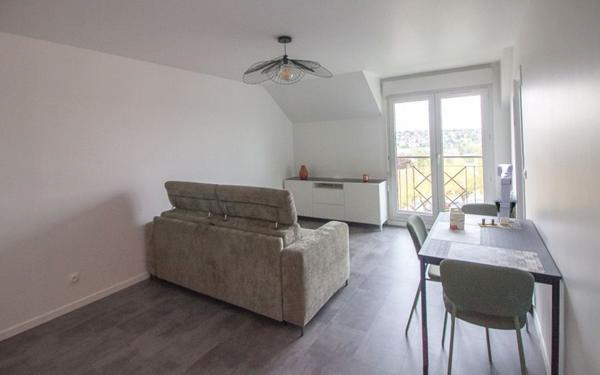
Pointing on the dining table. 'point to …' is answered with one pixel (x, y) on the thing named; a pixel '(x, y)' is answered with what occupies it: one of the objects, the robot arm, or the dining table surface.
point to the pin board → (487, 224)
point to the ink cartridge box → (457, 218)
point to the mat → (503, 225)
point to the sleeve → (504, 221)
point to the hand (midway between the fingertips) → (504, 212)
